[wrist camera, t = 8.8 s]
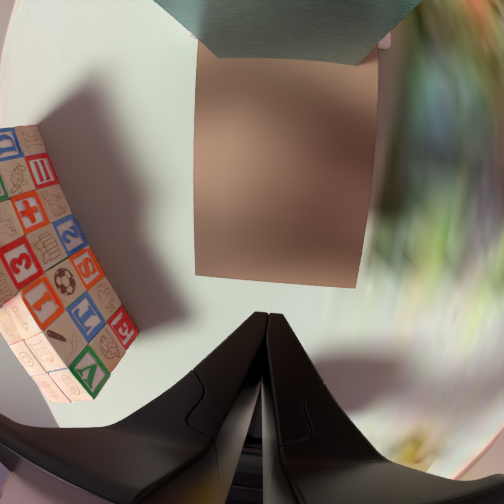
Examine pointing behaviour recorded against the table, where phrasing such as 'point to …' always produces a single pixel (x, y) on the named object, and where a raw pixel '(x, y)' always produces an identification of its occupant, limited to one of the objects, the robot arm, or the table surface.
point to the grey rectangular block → (290, 26)
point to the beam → (283, 167)
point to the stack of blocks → (53, 280)
